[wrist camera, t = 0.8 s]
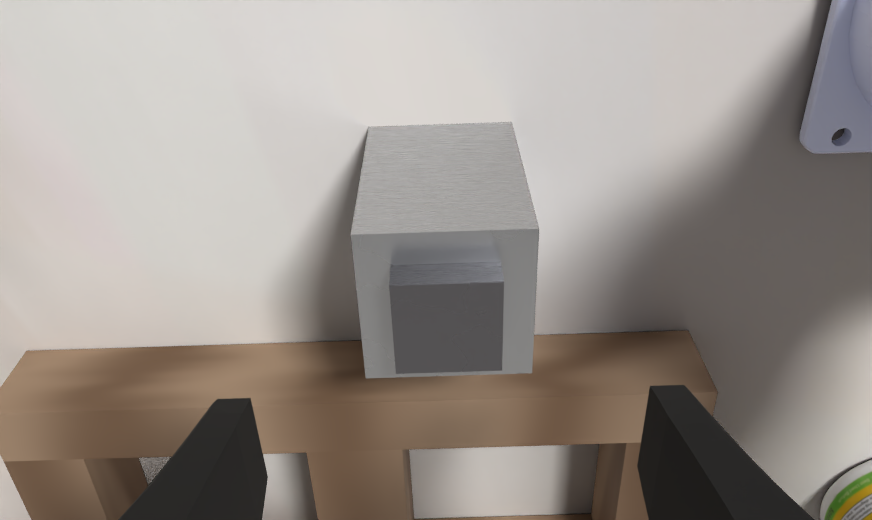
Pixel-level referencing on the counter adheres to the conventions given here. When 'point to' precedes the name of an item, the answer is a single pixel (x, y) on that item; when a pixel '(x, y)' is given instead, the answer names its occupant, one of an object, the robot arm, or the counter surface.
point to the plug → (445, 252)
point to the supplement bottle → (850, 496)
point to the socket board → (330, 417)
